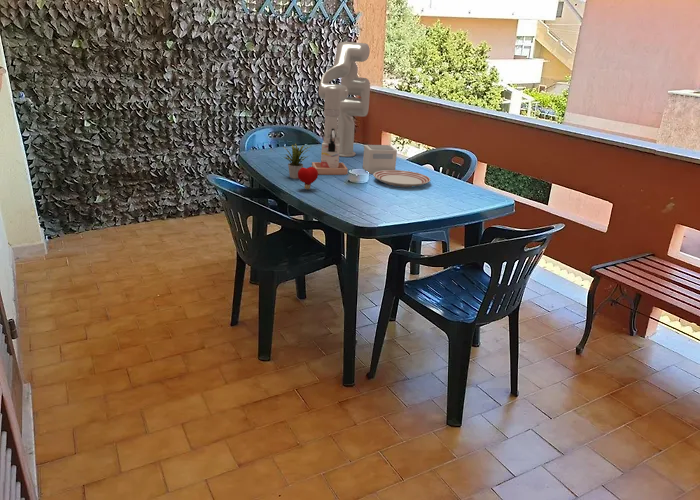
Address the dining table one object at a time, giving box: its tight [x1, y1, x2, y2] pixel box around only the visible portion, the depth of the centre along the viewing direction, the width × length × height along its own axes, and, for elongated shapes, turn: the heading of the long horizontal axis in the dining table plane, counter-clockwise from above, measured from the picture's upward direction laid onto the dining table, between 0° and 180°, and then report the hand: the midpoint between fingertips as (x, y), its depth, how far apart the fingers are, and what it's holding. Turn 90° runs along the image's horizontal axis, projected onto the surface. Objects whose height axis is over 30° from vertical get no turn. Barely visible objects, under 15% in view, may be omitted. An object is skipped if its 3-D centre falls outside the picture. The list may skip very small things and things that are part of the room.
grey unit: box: [362, 144, 398, 175], centre depth 273 cm, size 13×14×12 cm
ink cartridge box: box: [320, 135, 340, 168], centre depth 264 cm, size 9×5×15 cm, turn 84°
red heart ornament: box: [298, 166, 319, 191], centre depth 234 cm, size 9×7×10 cm
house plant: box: [281, 142, 311, 180], centre depth 251 cm, size 14×14×16 cm
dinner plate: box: [372, 169, 431, 188], centre depth 257 cm, size 27×27×3 cm
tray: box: [311, 161, 349, 176], centre depth 267 cm, size 13×16×3 cm
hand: (330, 149), depth 264 cm, fingers closed on ink cartridge box, 6 cm apart
